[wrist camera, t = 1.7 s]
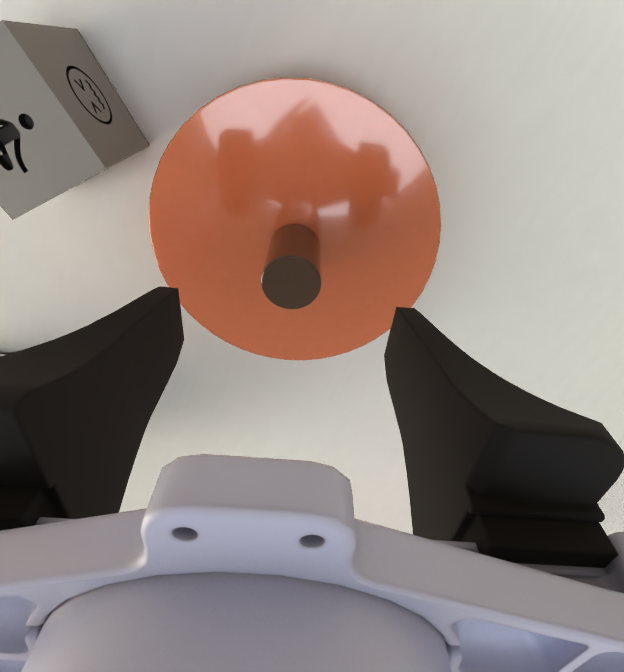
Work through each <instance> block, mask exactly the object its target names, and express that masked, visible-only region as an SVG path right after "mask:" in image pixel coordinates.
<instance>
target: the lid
mask: <svg viewBox="0 0 624 672" xmlns="http://www.w3.org/2000/svg"><path fill="white" fill-rule="evenodd" d="M149 227H150V237H151V241H152V246H153V251H154V254H155V257H156V260H157V263H158V266H159V268H160V271H161V273H162V275H163V277H164V279H165V281H166V283H167V285H168V286H169V287H171V288H178V290H179V299H180V304H181V305H182V306H183V307H184V308H185V310H186V311H187V312H188V313H189V314H190V315H191V316H192V317H193V318H194V319H195V320H196V321H197V322H199V323H200V324H201V325H202V326H203V327H205V328H206V329H207V330H209V331H210V332H211V333H213V334H214V335H216V336H217V337H219V338H221V339H222V340H224V341H226V342H227V343H230V344H232V345H234V346H236V347H238V348H240V349H243V350H246V351H249V352H251V353H254V354H258V355H262V356H266V357H270V358H277V359H285V360H312V359H321V358H327V357H332V356H336V355H339V354H343V353H346V352H349V351H352V350H354V349H356V348H359V347H361V346H363V345H365V344H367V343H369V342H371V341H372V340H374V339H376V338H378V337H379V336H380V335H382V334H383V333H385V332H386V331H388V330H389V329H390V328H391V326H392V322H393V318H394V314H395V310H396V307H406V308H411V307H412V306H413V304H414V303H415V301H416V300H417V299H418V297H419V296H420V294H421V293H422V291H423V289H424V287H425V285H426V283H427V281H428V279H429V277H430V275H431V272H432V269H433V266H434V264H435V261H436V257H437V252H438V247H439V243H440V231H441V215H440V203H439V198H438V193H437V188H436V184H435V182H434V179H433V176H432V173H431V170H430V167H429V165H428V163H427V162H426V160H425V158H424V156H423V154H422V152H421V150H420V148H419V147H418V146H417V144H416V143H415V141H414V140H413V139H412V137H411V136H410V135H409V133H408V132H407V131H406V130H405V129H404V127H403V126H402V125H401V124H400V123H399V122H398V121H397V120H396V119H395V118H394V117H393V116H392V115H391V114H389V113H388V112H387V111H385V110H384V109H383V108H381V107H380V106H379V105H377V104H376V103H375V102H373V101H372V100H370V99H368V98H366V97H364V96H363V95H361V94H359V93H357V92H355V91H353V90H351V89H348V88H345V87H343V86H340V85H337V84H334V83H331V82H327V81H322V80H317V79H311V78H298V77H281V78H273V79H265V80H260V81H256V82H253V83H249V84H246V85H242V86H239V87H237V88H235V89H233V90H231V91H228V92H226V93H224V94H222V95H220V96H218V97H216V98H215V99H213V100H212V101H210V102H209V103H208V104H206V105H205V106H203V107H202V108H200V109H199V110H198V111H197V112H196V113H195V114H194V115H193V116H192V117H190V118H189V119H188V120H187V121H186V122H185V123H184V124H183V125H182V127H181V128H180V129H179V131H178V132H177V133H176V134H175V136H174V137H173V138H172V140H171V141H170V143H169V145H168V147H167V148H166V150H165V152H164V154H163V156H162V157H161V159H160V162H159V165H158V168H157V170H156V173H155V176H154V179H153V184H152V189H151V194H150V202H149Z"/></svg>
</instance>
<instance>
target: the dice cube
mask: <svg viewBox="0 0 624 672" xmlns="http://www.w3.org/2000/svg"><path fill="white" fill-rule="evenodd" d="M148 146H149V144H148V142H147V140H146V139H145V137H144V136H143V134H142V132H141V131H140V129H139V128H138V126H137V124H136V123H135V121H134V120H133V118H132V116H131V115H130V113H129V112H128V110H127V108H126V107H125V105H124V103H123V102H122V100H121V99H120V97H119V95H118V94H117V92H116V91H115V89H114V87H113V86H112V84H111V83H110V81H109V79H108V78H107V76H106V75H105V73H104V71H103V70H102V68H101V67H100V65H99V63H98V62H97V60H96V59H95V57H94V55H93V54H92V52H91V50H90V49H89V47H88V46H87V44H86V42H85V41H84V39H83V38H82V36H81V34H80V33H79V31H78V30H77V29H71V28H63V27H55V26H46V25H38V24H29V23H21V22H12V21H4V20H2V21H0V206H1V207H2V208H3V209H4V211H5V212H6V213H7V214H8V215H9V216H10V217H11V218H12V220H13V219H15V218H17V217H19V216H21V215H22V214H24V213H26V212H28V211H30V210H32V209H34V208H36V207H37V206H39V205H41V204H43V203H45V202H47V201H49V200H50V199H52V198H54V197H56V196H58V195H60V194H62V193H64V192H65V191H67V190H69V189H71V188H73V187H75V186H77V185H78V184H80V183H82V182H84V181H86V180H87V179H89V178H91V177H93V176H95V175H97V174H98V173H100V172H102V171H104V170H106V169H107V168H109V167H111V166H113V165H115V164H117V163H118V162H120V161H122V160H124V159H126V158H128V157H129V156H131V155H133V154H135V153H137V152H138V151H140V150H142V149H144V148H146V147H148Z"/></svg>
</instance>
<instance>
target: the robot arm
mask: <svg viewBox="0 0 624 672" xmlns="http://www.w3.org/2000/svg"><path fill="white" fill-rule="evenodd" d="M183 341H184V334H183V325H182V316H181V308H180V299H179V290H178V288H171V287H157V288H155V289H153V290H151V291H149V292H148V293H146V294H144V295H142V296H141V297H139V298H137V299H136V300H134V301H132V302H130V303H129V304H127V305H125V306H123V307H122V308H120V309H118V310H117V311H115V312H113V313H111V314H109V315H107V316H105V317H103V318H101V319H99V320H97V321H95V322H93V323H92V324H90V325H88V326H85V327H83V328H81V329H79V330H77V331H74V332H72V333H69V334H67V335H64V336H62V337H60V338H57V339H54V340H52V341H49V342H46V343H43V344H40V345H37V346H34V347H30V348H27V349H24V350H21V351H18V352H15V353H11V354H0V672H624V532H616V533H613V534H610V535H608V536H607V535H606V533H605V531H604V530H603V528H602V526H601V525H600V523H599V522H602V521H603V520H604V519H605V516H604V513H603V512H602V510H601V509H600V507H599V506H598V504H597V502H598V501H599V500H600V499H601V498H602V497H603V495H604V494H605V493H606V492H607V491H608V490H609V489H610V487H611V486H612V485H613V484H614V483H615V482H616V480H617V479H618V477H619V476H620V474H621V473H622V471H623V469H624V453H623V451H622V449H621V448H620V447H619V445H618V444H617V443H616V441H615V440H614V439H613V438H612V436H611V435H610V434H609V432H608V431H607V430H606V428H605V427H604V426H603V425H602V423H600V422H597V421H595V420H592V419H589V418H587V417H584V416H581V415H579V414H576V413H573V412H571V411H568V410H566V409H563V408H561V407H558V406H556V405H554V404H552V403H549V402H547V401H545V400H543V399H541V398H538V397H536V396H534V395H532V394H530V393H528V392H526V391H524V390H522V389H521V388H519V387H517V386H515V385H513V384H512V383H510V382H508V381H506V380H504V379H503V378H501V377H499V376H498V375H496V374H495V373H493V372H492V371H490V370H489V369H487V368H486V367H484V366H483V365H481V364H480V363H478V362H477V361H475V360H474V359H473V358H471V357H470V356H469V355H467V354H466V353H465V352H464V351H462V350H461V349H460V348H459V347H457V346H456V345H455V344H454V343H453V342H452V341H450V340H449V339H448V338H447V337H446V336H445V335H444V334H442V333H441V332H440V331H439V330H438V329H437V328H436V327H435V326H434V325H433V324H432V323H431V322H429V321H428V320H427V319H426V318H425V317H424V316H423V315H422V314H421V313H420V312H418V311H417V310H416V309H415V308H406V307H396V310H395V314H394V318H393V322H392V326H391V330H390V334H389V338H388V342H387V346H386V350H385V354H384V358H385V369H386V377H387V383H388V387H389V391H390V395H391V399H392V403H393V406H394V410H395V414H396V418H397V422H398V425H399V429H400V433H401V438H402V443H403V449H404V456H405V463H406V470H407V479H408V487H409V496H410V505H411V516H412V527H413V535H412V534H408V533H405V532H401V531H398V530H394V529H391V528H387V527H383V526H380V525H376V524H373V523H369V522H366V521H362V520H358V519H355V518H354V508H353V496H352V490H351V484H350V480H349V479H348V478H347V477H345V476H344V475H343V474H342V473H340V472H339V471H338V470H337V469H335V468H334V467H332V466H329V465H324V464H320V463H316V462H312V461H301V460H286V459H271V458H256V457H241V456H226V455H211V454H200V455H191V456H182V457H178V458H177V459H175V460H174V461H172V462H170V463H169V464H167V465H166V466H164V467H163V468H162V470H161V472H160V475H159V478H158V480H157V483H156V486H155V488H154V491H153V494H152V496H151V499H150V502H149V504H148V507H147V509H140V510H134V511H127V512H120V513H119V510H120V506H121V503H122V500H123V496H124V493H125V489H126V486H127V483H128V479H129V476H130V473H131V470H132V467H133V464H134V461H135V458H136V455H137V452H138V449H139V446H140V443H141V441H142V438H143V435H144V432H145V429H146V427H147V424H148V422H149V420H150V417H151V415H152V413H153V411H154V409H155V407H156V405H157V403H158V401H159V399H160V397H161V395H162V393H163V391H164V389H165V387H166V385H167V383H168V381H169V379H170V376H171V374H172V372H173V370H174V368H175V366H176V364H177V361H178V358H179V355H180V351H181V348H182V345H183Z"/></svg>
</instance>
